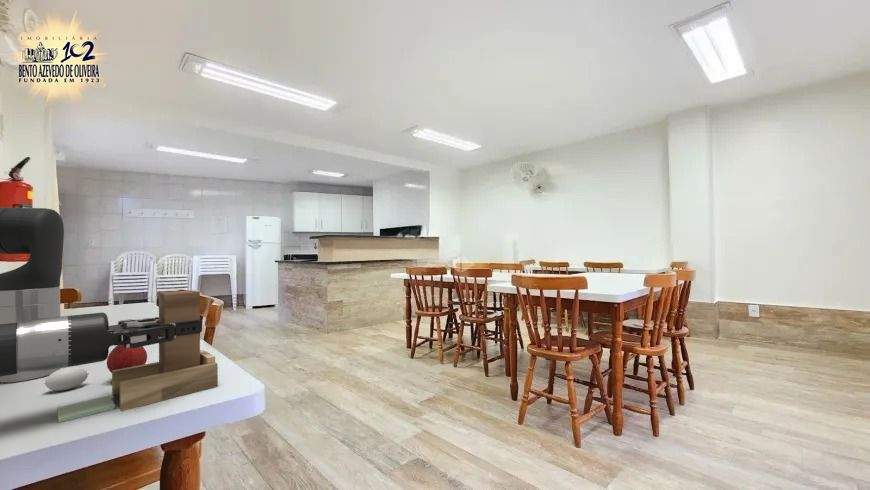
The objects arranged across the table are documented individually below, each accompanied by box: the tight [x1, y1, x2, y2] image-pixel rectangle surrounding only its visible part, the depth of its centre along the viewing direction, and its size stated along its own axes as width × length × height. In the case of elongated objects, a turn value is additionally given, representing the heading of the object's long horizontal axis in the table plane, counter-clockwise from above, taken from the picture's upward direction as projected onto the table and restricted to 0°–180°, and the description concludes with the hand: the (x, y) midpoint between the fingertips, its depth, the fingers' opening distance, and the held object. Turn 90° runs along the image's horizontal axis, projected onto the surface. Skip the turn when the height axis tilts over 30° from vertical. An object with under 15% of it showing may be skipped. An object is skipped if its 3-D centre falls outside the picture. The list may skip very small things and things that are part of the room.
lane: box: [111, 349, 219, 412], centre depth 63 cm, size 10×13×5 cm
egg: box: [43, 366, 90, 392], centre depth 65 cm, size 4×6×4 cm, turn 151°
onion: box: [106, 345, 148, 374], centre depth 70 cm, size 6×6×8 cm
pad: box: [56, 395, 116, 423], centre depth 56 cm, size 6×6×1 cm
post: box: [158, 289, 201, 374], centre depth 65 cm, size 5×5×14 cm
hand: (196, 324), depth 67 cm, fingers closed on post, 5 cm apart
